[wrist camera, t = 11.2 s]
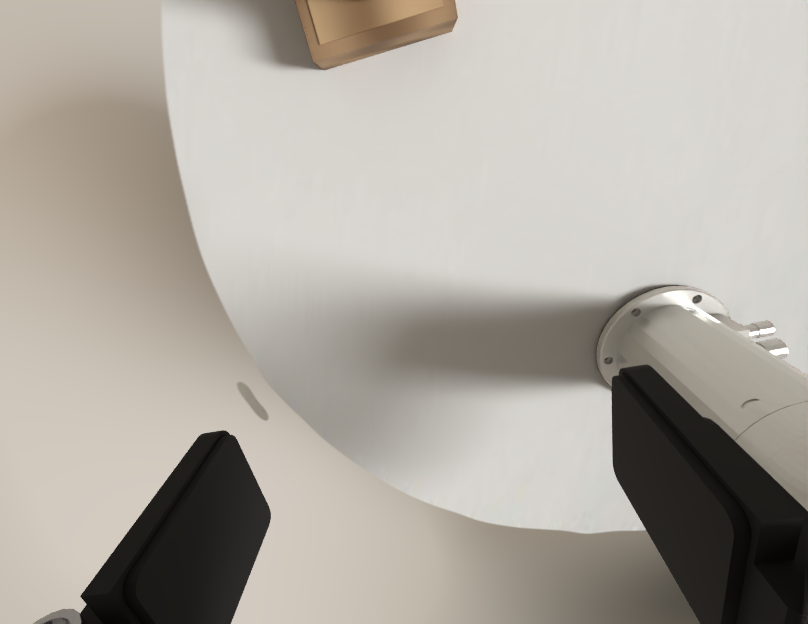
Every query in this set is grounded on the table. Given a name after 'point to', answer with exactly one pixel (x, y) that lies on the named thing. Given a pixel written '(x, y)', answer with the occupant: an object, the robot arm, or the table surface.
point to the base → (370, 26)
